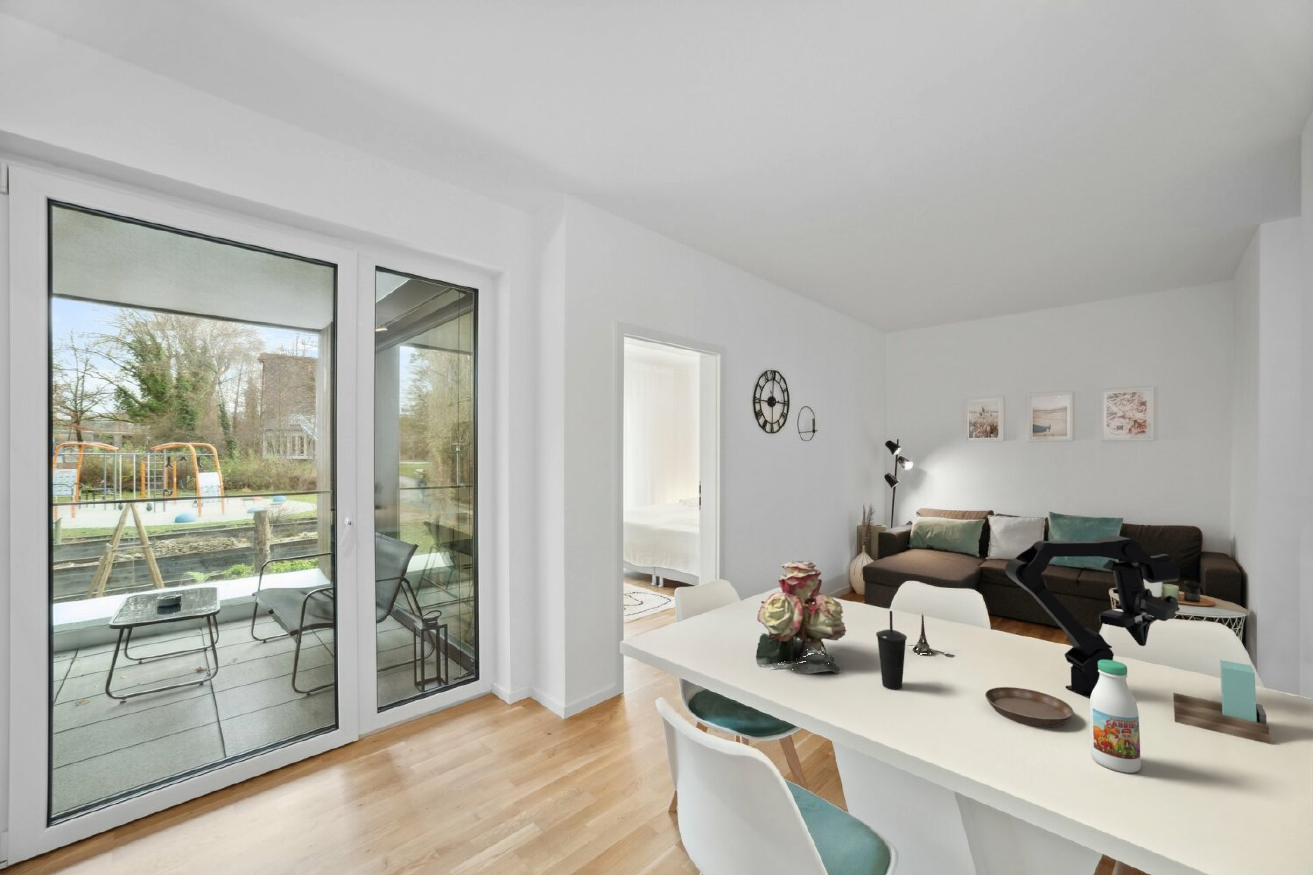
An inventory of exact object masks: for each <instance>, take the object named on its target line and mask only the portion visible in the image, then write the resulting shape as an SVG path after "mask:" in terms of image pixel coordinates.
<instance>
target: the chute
mask: <svg viewBox="0 0 1313 875" xmlns="http://www.w3.org/2000/svg"><path fill="white" fill-rule="evenodd" d="M1172 694H1173V695H1172V696H1173V713H1174V723H1180V724H1182V725H1183V724H1184V725H1188V726H1192V727H1196V728H1201V729H1204V730H1205V729H1206V730H1208V731H1212V732H1217V733H1222V734H1226V735H1230V736H1235V737H1238V738H1243V739H1247V740H1250V741H1251V740H1252V741H1255V742H1259V743H1264V744H1268V745H1271V743H1272V742H1271V740H1272V739H1271V735H1270V727H1269V724H1267V723H1268V722H1267V720H1268V719H1267V714H1266V710H1265V709H1264V706H1263V704H1260V703H1256V717H1257V722H1253V721H1249V720H1244V719H1240V718H1235V717H1231V716H1226V715H1223V713H1222V702H1220V701H1219V702H1218V701H1215V700H1208V699H1204V698H1201V697H1200V698H1199V697H1195V696H1191V695H1190V696H1189V695H1185V694H1180V693H1176V692H1173V693H1172Z"/></svg>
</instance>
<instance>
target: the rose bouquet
mask: <svg viewBox="0 0 1313 875" xmlns="http://www.w3.org/2000/svg"><path fill="white" fill-rule="evenodd" d="M816 566H817V563H816V562H813V561H812V560H808V562H807V561H806V562H805V561H804V560H802V561H801V560H795V561H793V560H792V561H788V562H787V563H783V564H782V565H781V568H783V569H784V570H785V572H786V574H781V575H780V579H778V580H777V581H778V583H779V588H781V591H778V590H777V591H776V592H774V593H772V594H770V595H769V596H768V598H767V599H766V600H764V601H763V600H762V601H760V603H761V605H760V607H759V609H760V610H758V612H757V617H756V618H757V621H758V622H759V623H761V624H763V626H764V628H766V630H768V633H765V632H761V635H760V636H759V640H758V641H759V642H758V643H757V649H756V654H755V660H756V664H757V666H759V667H760V668H762V667H763V668H769V669H770V670H769V671H770V672H771V671H772V669H773V668H775V669H774V670H782V669H788V670H789V671H792V672H793V673H796V674H806V675H807V674H814V673H815V674H816V673H821V672H828V671H831V672H833V673H834V674H840V672H841V671H842V670H841V667H840V666H838V664H837V663H836V662H835V660H834V659H835V658H834V657H832V656H829V655H828V653H827V649H826V647H825V643H824V641H823V640H828V641H829V640H831V641H839V639H841V638H843V637H844V636H846V632H847V629H846V626H845V622H843V621H842V620H843V617H844V616H842V615H843V613H844V610H843V606H842V604H841V603H840V602H839V601H837V600H835V599H834V598H833V597H832V596H831V595H829V594H825V593H820V590H821V587H822V582H823V581H822V579H819V577H820V575H821V574H822V571H820V570H819V569H816V568H815V567H816ZM807 649H808V650H807ZM822 650H823V651H822ZM805 651H808V652H807V653H814V654H811V655H808V656H806V657H802V656H803V655H801V654H804V652H805ZM820 651H821V652H820ZM818 653H820V654H818ZM821 654H824V655H821ZM800 659H802V660H801V661H806V662H803V663H798V662H796V661H797V660H800ZM784 661H794V662H795V663H796V664H784V663H785V662H784ZM781 662H784V663H783V664H784V665H782V663H781ZM834 662H835V663H834ZM778 663H779V665H778ZM797 663H798V664H797ZM828 663H829V664H828ZM771 668H772V669H771ZM792 669H793V670H792Z"/></svg>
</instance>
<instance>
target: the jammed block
mask: <svg viewBox="0 0 1313 875" xmlns="http://www.w3.org/2000/svg"><path fill="white" fill-rule="evenodd" d="M1219 664H1220V684H1221V685H1220V686H1221V703H1222V713H1223V715H1226V716H1231V717H1235V718H1240V719H1244V720H1249V721H1253V722H1257V717H1256V704H1257V698H1256V696H1257V694H1256V672H1255V671H1254V667H1253V666H1252V665H1251V664H1244V663H1239V662H1234V661H1228V660H1223V659H1221V660H1220V663H1219Z"/></svg>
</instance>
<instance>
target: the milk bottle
mask: <svg viewBox="0 0 1313 875" xmlns="http://www.w3.org/2000/svg"><path fill="white" fill-rule="evenodd" d="M1098 669H1099V670H1098V672H1099V673H1100V676H1099V680H1098V682H1097V684H1096V686H1095V688H1094V689H1093V691H1092V694H1091V697H1090V698H1089V699H1090V700H1089V726H1090V727H1089V731H1090V734H1089V735H1090V736H1089V737H1090V739H1089V740H1090V754H1091V758H1092V759H1093V760H1094V761H1095V762H1096V763H1097V764H1098V765H1101V766H1102V767H1104V768H1107V769H1110V770H1113V771H1117V772H1120V773H1125V774H1126V773H1127V774H1133V773H1134V774H1135V773H1138V772H1139V771H1140V770H1141V740H1140V736H1141V735H1140V734H1141V733H1140V717H1139V709H1138V705H1137V702H1136V699H1135V697H1134V696H1133V694H1132V692H1131V689H1130V688H1129V686H1128V683H1127V682H1128V681H1127V678H1128V666H1127V665H1126V664H1124V663H1122V662H1120V661H1116V660H1113V661H1112V660H1099V661H1098Z"/></svg>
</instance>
